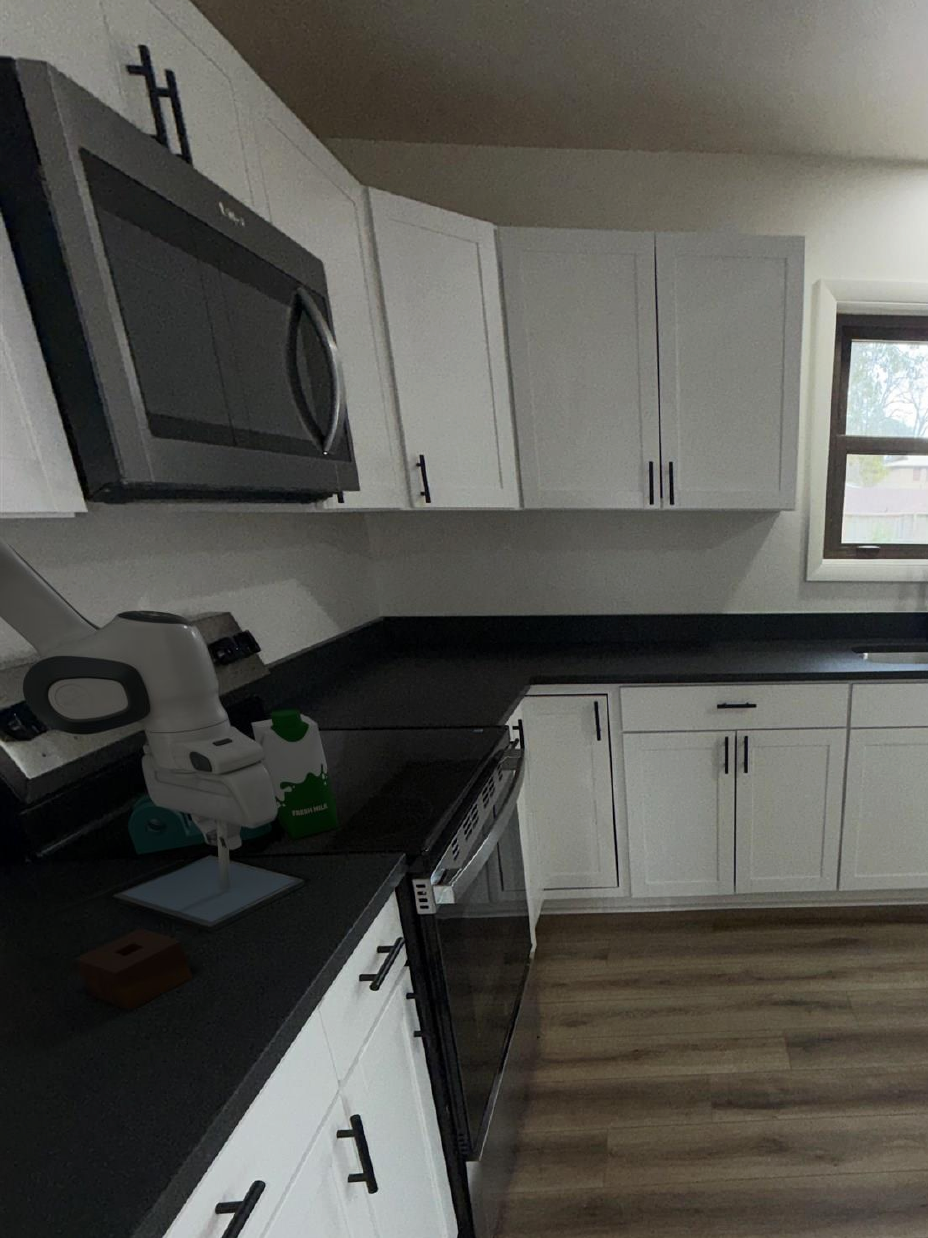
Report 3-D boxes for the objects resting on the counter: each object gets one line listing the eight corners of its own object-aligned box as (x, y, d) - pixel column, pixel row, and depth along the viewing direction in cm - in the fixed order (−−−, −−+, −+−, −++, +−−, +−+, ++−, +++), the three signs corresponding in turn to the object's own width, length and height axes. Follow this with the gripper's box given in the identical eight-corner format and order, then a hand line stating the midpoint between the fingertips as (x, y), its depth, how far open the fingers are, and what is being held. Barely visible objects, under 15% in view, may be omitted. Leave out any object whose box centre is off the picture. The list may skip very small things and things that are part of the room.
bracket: (138, 858, 118) (121, 811, 115) (143, 842, 123) (127, 796, 120) (272, 835, 126) (259, 790, 122) (271, 820, 131) (259, 777, 128)
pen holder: (90, 995, 86) (74, 958, 84) (154, 963, 92) (141, 927, 90) (130, 1011, 84) (114, 973, 82) (193, 977, 90) (180, 940, 87)
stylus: (218, 890, 106) (214, 817, 100) (226, 887, 107) (222, 814, 101) (224, 894, 106) (220, 822, 100) (232, 891, 107) (229, 818, 101)
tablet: (114, 901, 106) (112, 895, 105) (212, 860, 117) (210, 854, 117) (211, 932, 99) (209, 925, 98) (305, 885, 110) (304, 879, 110)
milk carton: (289, 843, 123) (257, 720, 115) (273, 826, 129) (241, 709, 121) (346, 828, 128) (319, 710, 120) (328, 812, 134) (301, 699, 126)
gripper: (115, 742, 98) (150, 841, 103) (224, 763, 90) (255, 869, 96) (165, 729, 103) (196, 824, 109) (272, 748, 95) (299, 849, 101)
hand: (224, 845), depth 102 cm, fingers closed on stylus
